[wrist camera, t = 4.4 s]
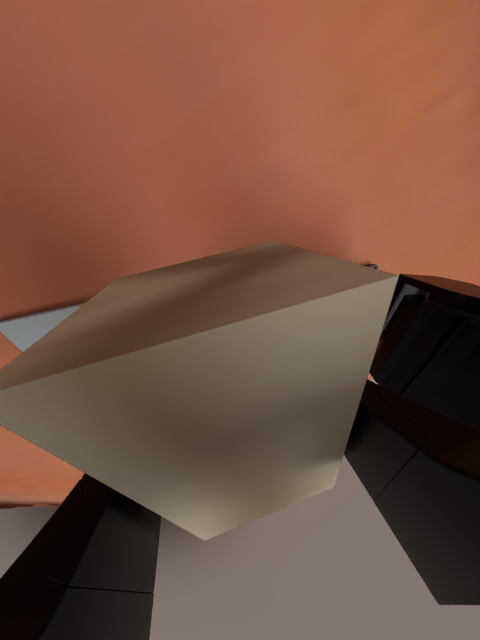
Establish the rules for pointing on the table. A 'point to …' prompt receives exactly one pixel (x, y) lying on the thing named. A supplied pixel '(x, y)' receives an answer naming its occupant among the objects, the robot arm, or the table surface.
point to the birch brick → (207, 382)
